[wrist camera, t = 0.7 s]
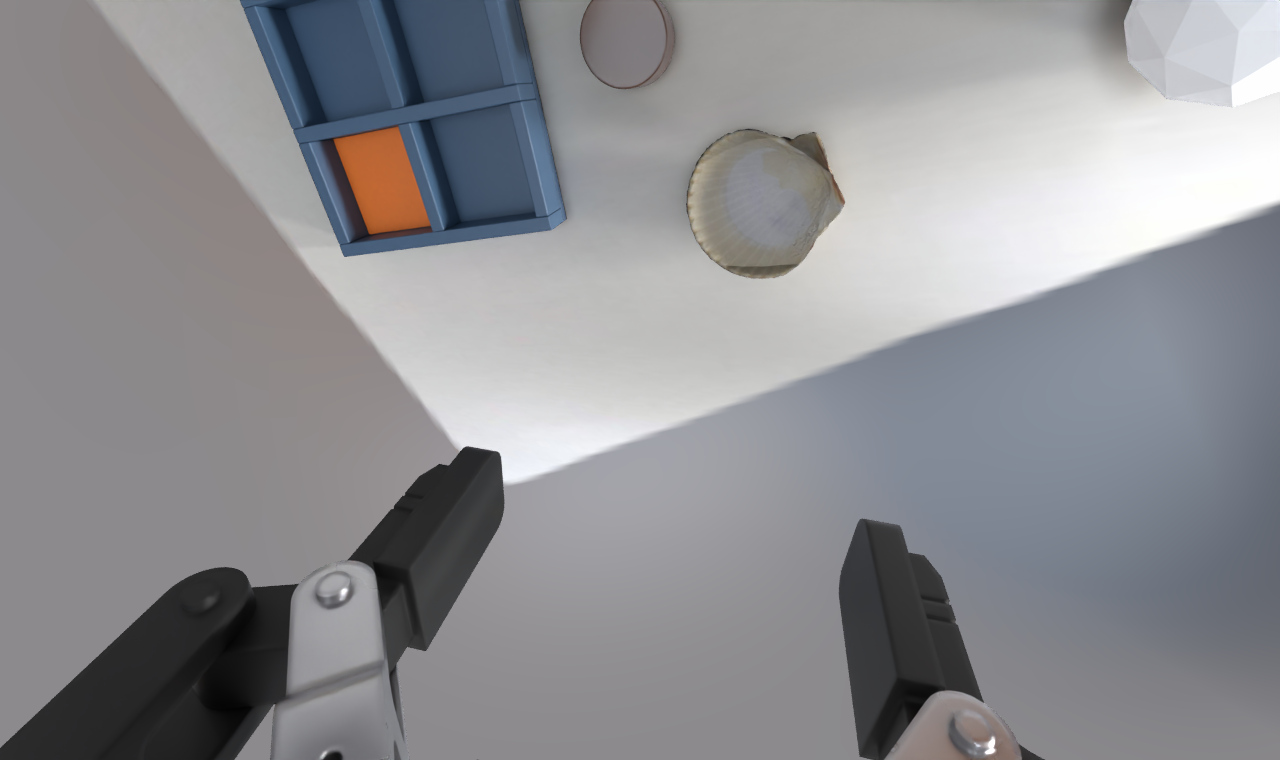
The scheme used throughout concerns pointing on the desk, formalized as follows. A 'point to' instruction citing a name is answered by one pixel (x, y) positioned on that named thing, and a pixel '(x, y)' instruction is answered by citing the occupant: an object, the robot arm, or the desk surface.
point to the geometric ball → (1206, 48)
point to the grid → (413, 117)
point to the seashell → (762, 201)
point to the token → (627, 41)
